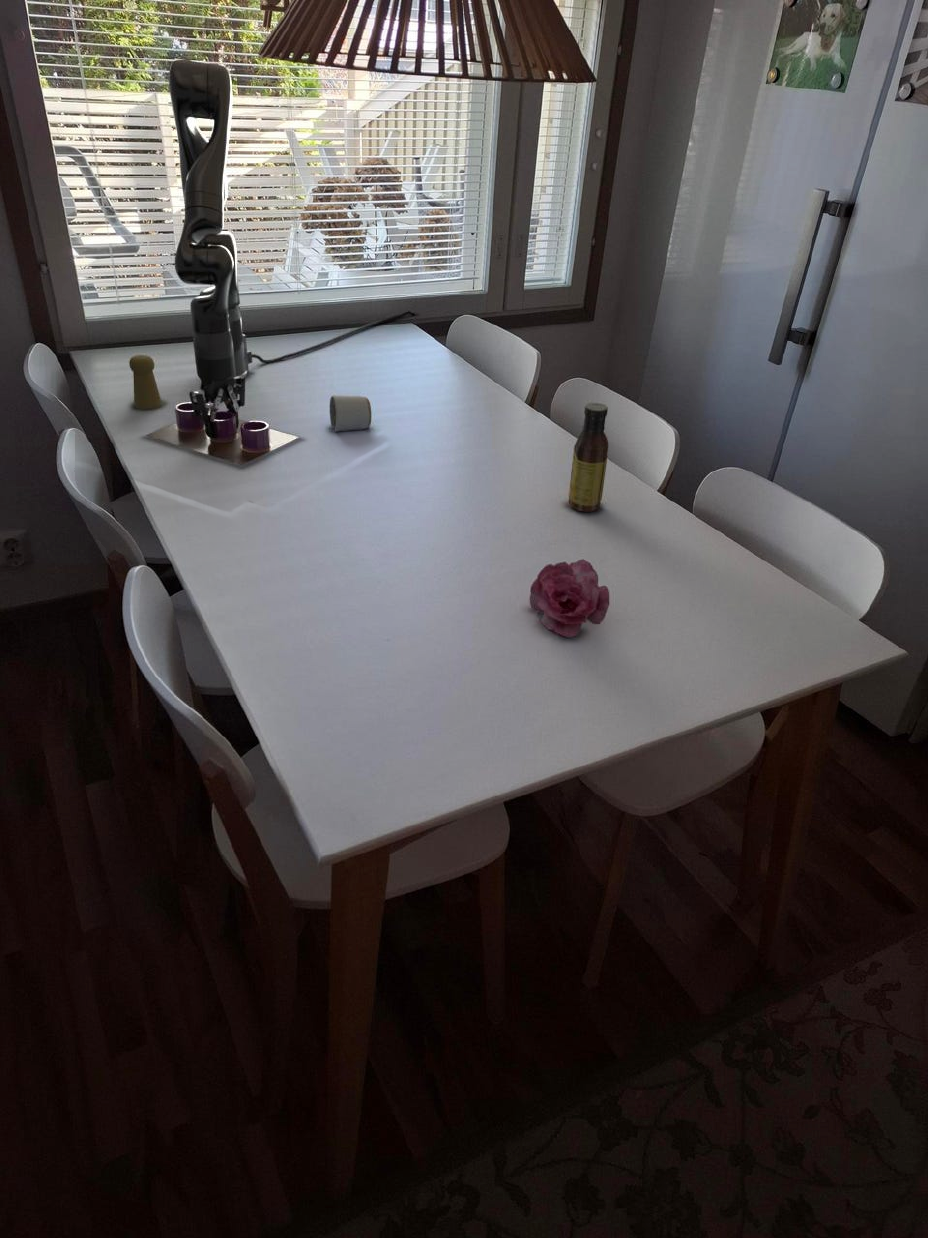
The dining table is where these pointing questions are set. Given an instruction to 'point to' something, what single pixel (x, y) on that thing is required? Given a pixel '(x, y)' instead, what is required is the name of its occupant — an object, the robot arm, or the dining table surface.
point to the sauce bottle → (589, 461)
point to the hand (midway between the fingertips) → (223, 432)
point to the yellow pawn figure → (144, 383)
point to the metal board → (219, 443)
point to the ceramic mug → (350, 412)
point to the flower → (569, 597)
